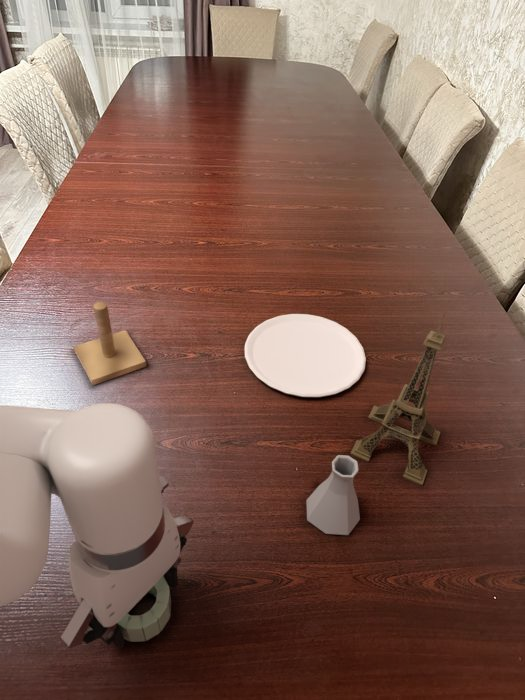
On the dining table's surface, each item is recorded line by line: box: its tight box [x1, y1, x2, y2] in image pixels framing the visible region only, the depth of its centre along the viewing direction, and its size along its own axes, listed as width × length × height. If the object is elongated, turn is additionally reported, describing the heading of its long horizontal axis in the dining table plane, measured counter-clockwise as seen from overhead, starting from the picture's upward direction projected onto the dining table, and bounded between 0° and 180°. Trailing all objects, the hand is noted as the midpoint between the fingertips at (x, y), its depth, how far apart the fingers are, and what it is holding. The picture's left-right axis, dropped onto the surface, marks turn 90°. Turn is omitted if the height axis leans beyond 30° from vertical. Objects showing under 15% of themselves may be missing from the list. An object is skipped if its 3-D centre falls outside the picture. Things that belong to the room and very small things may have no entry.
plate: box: [244, 313, 367, 398], centre depth 89 cm, size 21×21×1 cm
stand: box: [73, 301, 147, 386], centre depth 83 cm, size 9×9×11 cm
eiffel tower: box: [349, 310, 447, 487], centre depth 68 cm, size 11×11×25 cm
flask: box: [305, 454, 361, 536], centre depth 65 cm, size 7×7×10 cm
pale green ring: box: [117, 576, 172, 643], centre depth 56 cm, size 6×6×4 cm
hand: (140, 606), depth 57 cm, fingers open, 7 cm apart
